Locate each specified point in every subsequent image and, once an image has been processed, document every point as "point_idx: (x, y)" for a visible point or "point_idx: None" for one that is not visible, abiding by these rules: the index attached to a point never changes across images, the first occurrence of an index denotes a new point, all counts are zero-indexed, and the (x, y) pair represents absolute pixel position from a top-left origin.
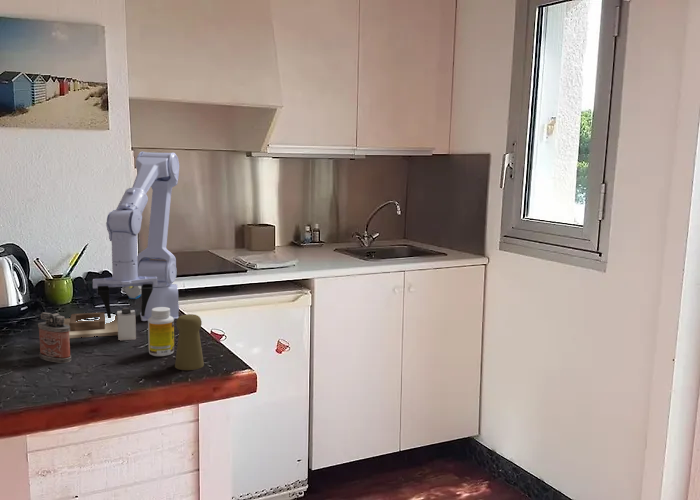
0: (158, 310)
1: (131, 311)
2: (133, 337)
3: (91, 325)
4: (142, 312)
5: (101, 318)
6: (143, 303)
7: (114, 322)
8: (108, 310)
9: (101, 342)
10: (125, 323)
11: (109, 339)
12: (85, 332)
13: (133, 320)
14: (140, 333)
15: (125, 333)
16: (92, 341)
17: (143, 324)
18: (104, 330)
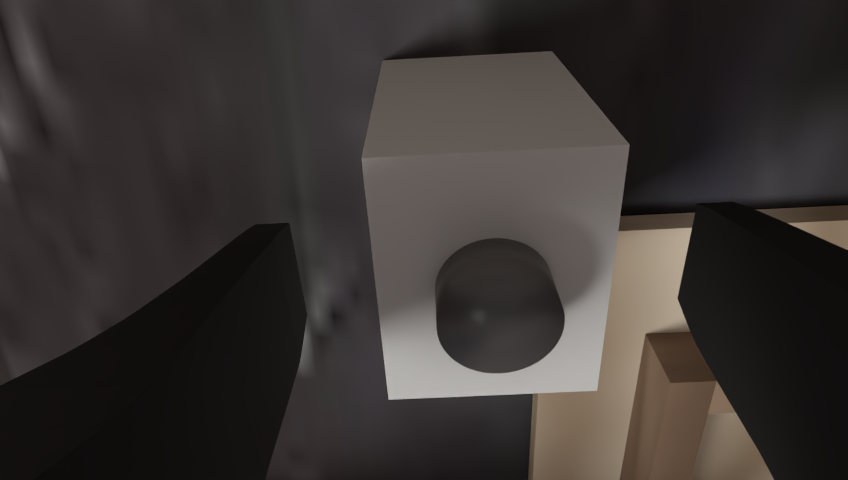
0: None
1: (424, 345)
2: (405, 63)
3: None
4: (262, 241)
5: (681, 452)
6: (192, 313)
7: (554, 465)
8: (790, 240)
9: (717, 15)
10: (498, 111)
11: (628, 106)
12: None
13: (395, 127)
14: (353, 238)
15: (488, 71)
16: (790, 69)
17: (348, 442)
18: (655, 294)
